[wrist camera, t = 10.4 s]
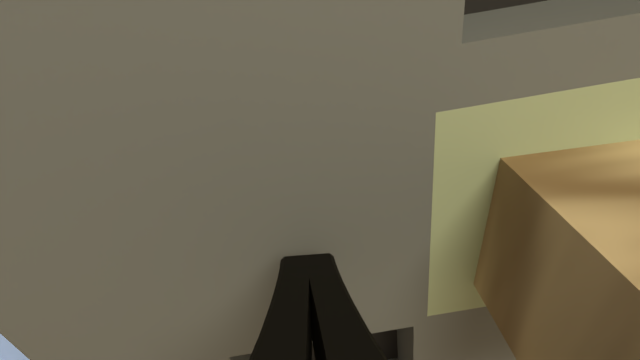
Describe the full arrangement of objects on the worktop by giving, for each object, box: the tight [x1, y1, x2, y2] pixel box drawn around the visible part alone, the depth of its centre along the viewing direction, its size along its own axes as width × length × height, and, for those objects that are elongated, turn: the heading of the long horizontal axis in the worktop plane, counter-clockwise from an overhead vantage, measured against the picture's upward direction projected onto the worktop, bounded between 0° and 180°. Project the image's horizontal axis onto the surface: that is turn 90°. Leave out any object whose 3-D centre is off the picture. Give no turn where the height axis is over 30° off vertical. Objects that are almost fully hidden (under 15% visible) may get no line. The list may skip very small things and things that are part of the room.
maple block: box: [474, 140, 640, 360], centre depth 9 cm, size 5×5×5 cm
